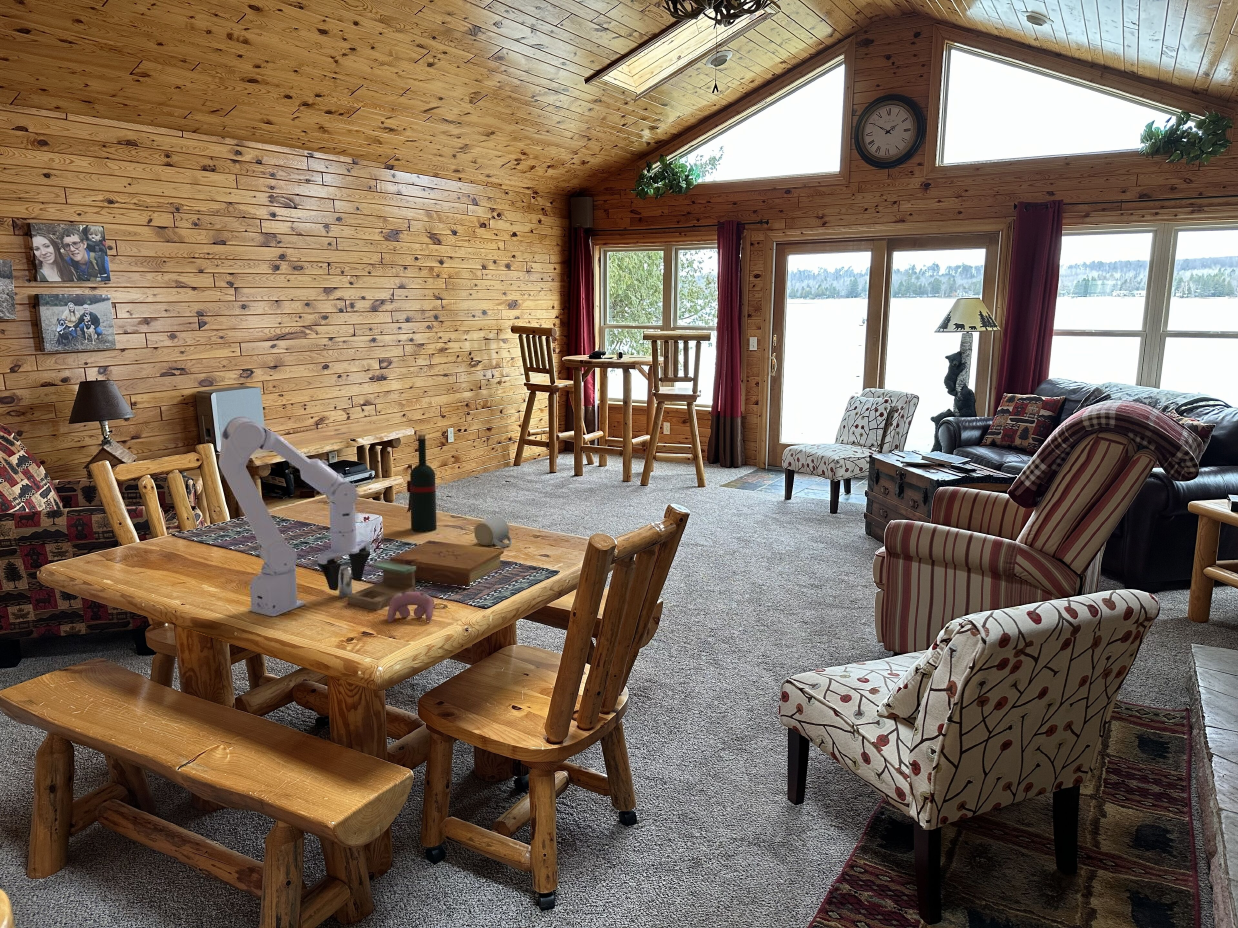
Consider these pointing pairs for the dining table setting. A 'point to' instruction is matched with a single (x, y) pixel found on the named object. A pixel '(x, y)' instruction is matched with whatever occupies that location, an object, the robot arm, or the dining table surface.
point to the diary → (450, 562)
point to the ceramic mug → (493, 532)
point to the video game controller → (411, 598)
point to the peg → (345, 581)
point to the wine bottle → (422, 493)
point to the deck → (385, 586)
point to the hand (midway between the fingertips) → (345, 584)
